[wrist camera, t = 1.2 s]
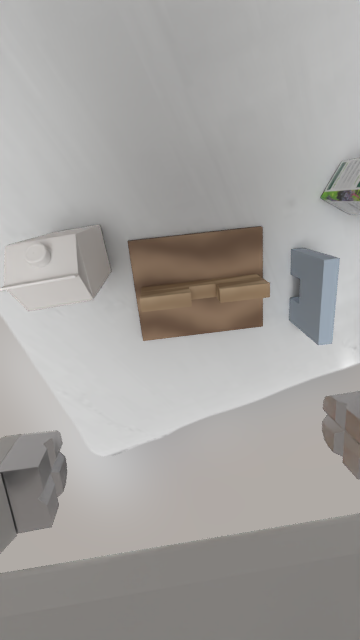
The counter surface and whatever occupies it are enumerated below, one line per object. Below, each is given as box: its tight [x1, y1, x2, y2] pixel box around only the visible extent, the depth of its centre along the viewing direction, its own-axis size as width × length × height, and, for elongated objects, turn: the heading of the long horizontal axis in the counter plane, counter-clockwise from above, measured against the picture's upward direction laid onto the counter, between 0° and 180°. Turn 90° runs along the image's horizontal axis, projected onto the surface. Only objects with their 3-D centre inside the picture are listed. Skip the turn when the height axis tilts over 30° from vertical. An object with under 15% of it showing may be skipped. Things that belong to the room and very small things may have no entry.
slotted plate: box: [289, 248, 340, 345], centre depth 45 cm, size 12×2×10 cm, turn 6°
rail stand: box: [128, 226, 270, 341], centre depth 45 cm, size 16×20×7 cm
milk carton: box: [0, 225, 111, 311], centre depth 37 cm, size 7×7×19 cm
